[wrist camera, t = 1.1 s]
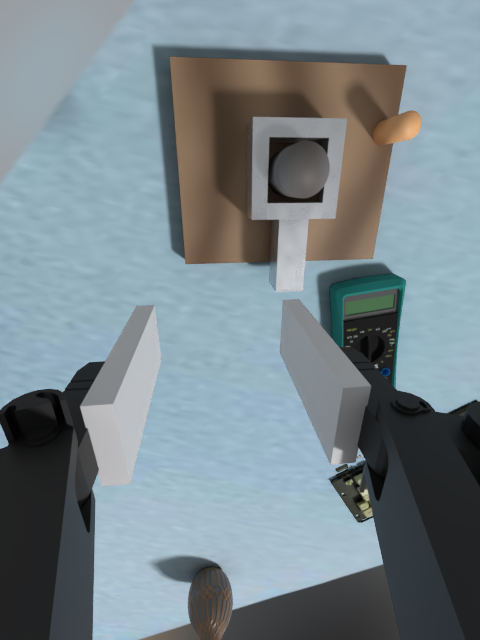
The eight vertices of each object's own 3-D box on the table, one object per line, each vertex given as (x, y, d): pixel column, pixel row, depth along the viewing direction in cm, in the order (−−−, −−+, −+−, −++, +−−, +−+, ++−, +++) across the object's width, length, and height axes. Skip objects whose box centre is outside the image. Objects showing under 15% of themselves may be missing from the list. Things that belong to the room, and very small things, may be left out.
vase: (236, 563, 50) (242, 635, 42) (222, 587, 52) (225, 659, 44) (196, 559, 48) (195, 632, 40) (183, 583, 51) (179, 657, 43)
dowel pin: (371, 145, 25) (395, 139, 22) (374, 120, 25) (400, 110, 21) (391, 145, 26) (417, 139, 22) (395, 120, 25) (423, 110, 22)
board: (186, 260, 29) (181, 279, 23) (171, 64, 23) (160, 22, 17) (365, 255, 31) (403, 272, 25) (395, 71, 25) (455, 36, 19)
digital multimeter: (328, 393, 38) (338, 409, 35) (327, 281, 32) (338, 289, 29) (384, 383, 39) (398, 397, 36) (393, 270, 32) (410, 277, 30)
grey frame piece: (247, 124, 24) (252, 116, 21) (331, 126, 24) (347, 118, 22) (246, 282, 29) (250, 292, 26) (315, 280, 30) (326, 289, 27)
